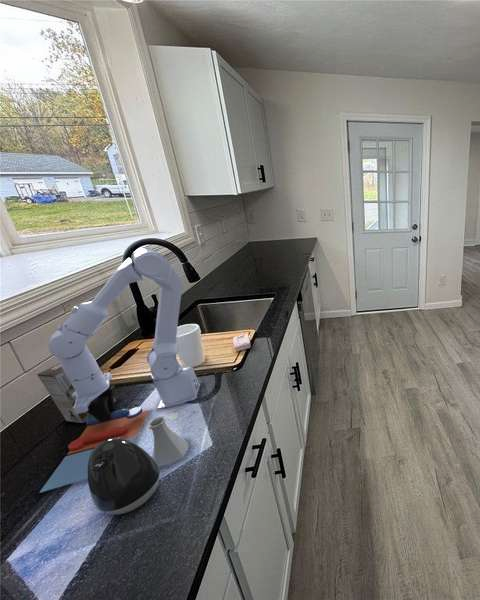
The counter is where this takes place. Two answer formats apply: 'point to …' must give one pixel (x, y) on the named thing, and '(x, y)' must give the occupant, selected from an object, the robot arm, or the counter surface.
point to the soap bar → (241, 342)
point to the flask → (166, 443)
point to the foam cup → (189, 345)
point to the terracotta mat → (131, 424)
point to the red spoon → (96, 437)
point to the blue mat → (70, 470)
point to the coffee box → (62, 393)
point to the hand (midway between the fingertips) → (108, 416)
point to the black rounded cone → (121, 476)
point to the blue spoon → (117, 415)
